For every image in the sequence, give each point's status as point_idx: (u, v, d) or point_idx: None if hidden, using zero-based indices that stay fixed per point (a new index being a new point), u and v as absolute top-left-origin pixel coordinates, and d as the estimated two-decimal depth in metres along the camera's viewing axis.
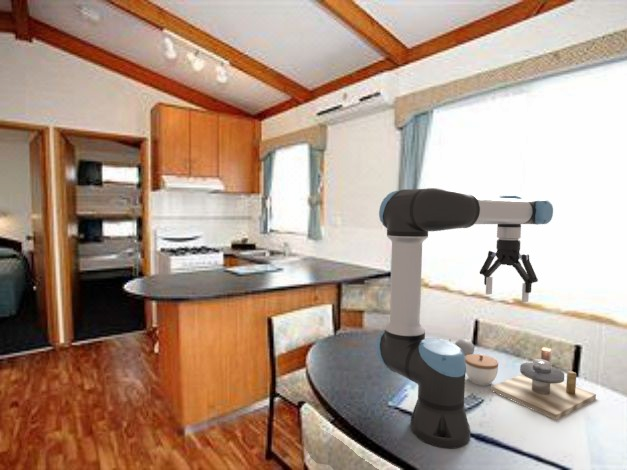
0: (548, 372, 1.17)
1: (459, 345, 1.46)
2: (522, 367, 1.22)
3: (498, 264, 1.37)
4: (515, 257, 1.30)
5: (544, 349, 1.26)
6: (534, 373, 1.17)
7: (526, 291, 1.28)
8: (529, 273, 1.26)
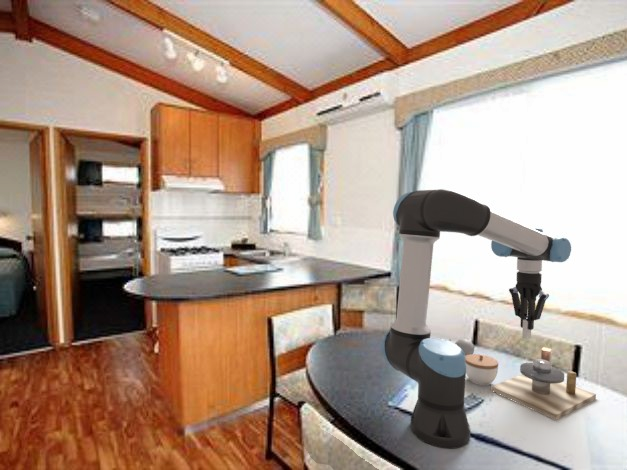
0: (548, 372, 1.17)
1: (459, 345, 1.46)
2: (522, 367, 1.22)
3: (525, 299, 1.32)
4: (535, 291, 1.28)
5: (544, 349, 1.26)
6: (534, 373, 1.17)
7: (528, 328, 1.31)
8: (537, 312, 1.28)
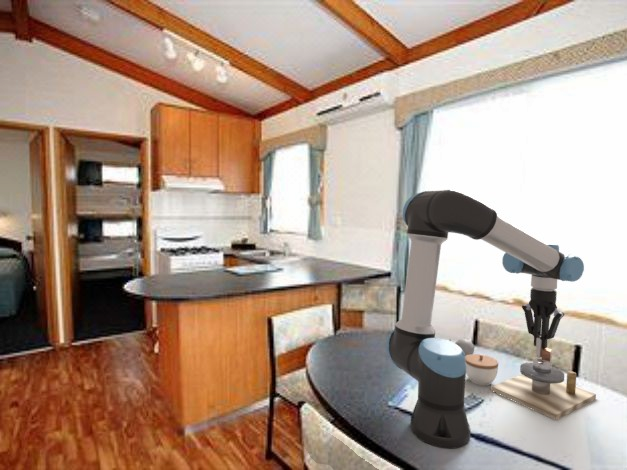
0: (548, 372, 1.17)
1: (459, 345, 1.46)
2: (522, 367, 1.22)
3: (539, 317, 1.28)
4: (550, 309, 1.24)
5: (545, 349, 1.26)
6: (534, 373, 1.17)
7: (542, 347, 1.27)
8: (551, 330, 1.24)
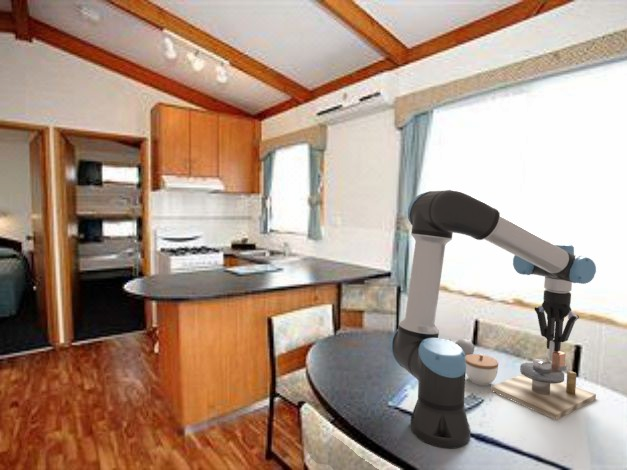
0: (545, 372, 1.17)
1: (459, 345, 1.46)
2: (523, 365, 1.23)
3: (552, 319, 1.24)
4: (564, 312, 1.20)
5: (556, 352, 1.24)
6: (529, 371, 1.19)
7: (555, 349, 1.24)
8: (565, 333, 1.21)
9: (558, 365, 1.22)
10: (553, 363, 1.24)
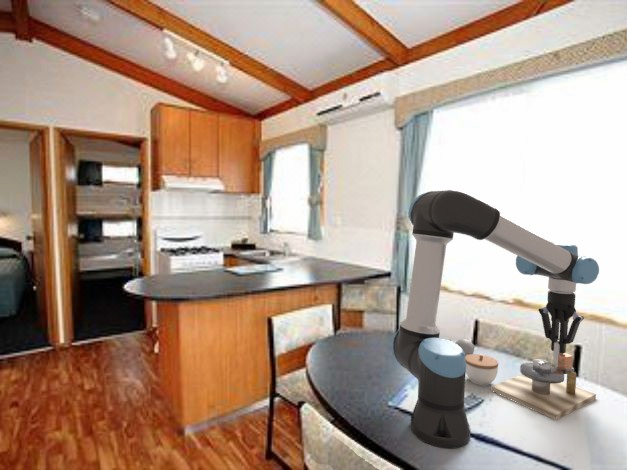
0: (543, 372, 1.17)
1: (459, 345, 1.46)
2: (524, 364, 1.24)
3: (556, 320, 1.23)
4: (569, 313, 1.19)
5: (562, 354, 1.22)
6: (527, 369, 1.20)
7: (560, 351, 1.22)
8: (570, 335, 1.19)
9: (563, 367, 1.20)
10: (559, 365, 1.22)
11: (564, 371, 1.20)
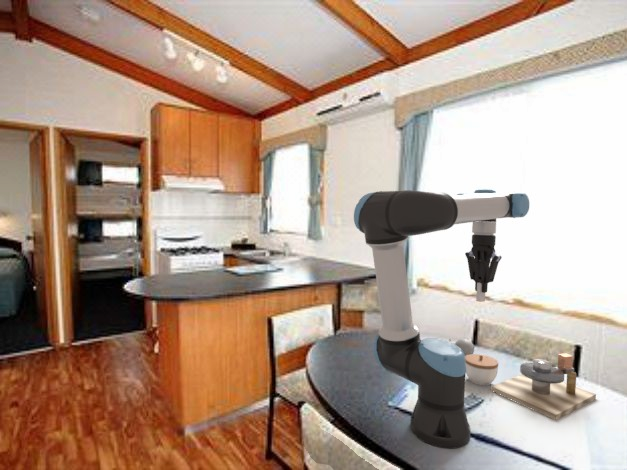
0: (543, 372, 1.17)
1: (459, 345, 1.46)
2: (524, 364, 1.24)
3: (479, 262, 1.31)
4: (488, 253, 1.28)
5: (563, 354, 1.22)
6: (526, 369, 1.20)
7: (482, 291, 1.30)
8: (489, 273, 1.27)
9: (563, 367, 1.20)
10: (559, 365, 1.22)
11: (564, 371, 1.20)
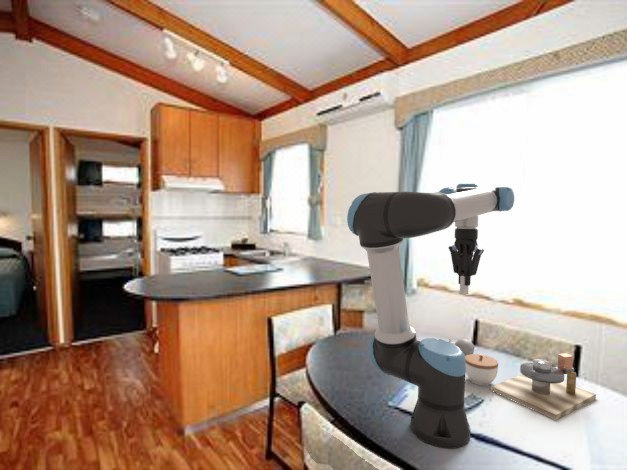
0: (543, 372, 1.17)
1: (459, 345, 1.46)
2: (524, 364, 1.24)
3: (462, 255, 1.33)
4: (471, 246, 1.29)
5: (563, 354, 1.22)
6: (526, 369, 1.20)
7: (465, 284, 1.32)
8: (472, 267, 1.29)
9: (563, 367, 1.20)
10: (559, 365, 1.22)
11: (564, 371, 1.20)
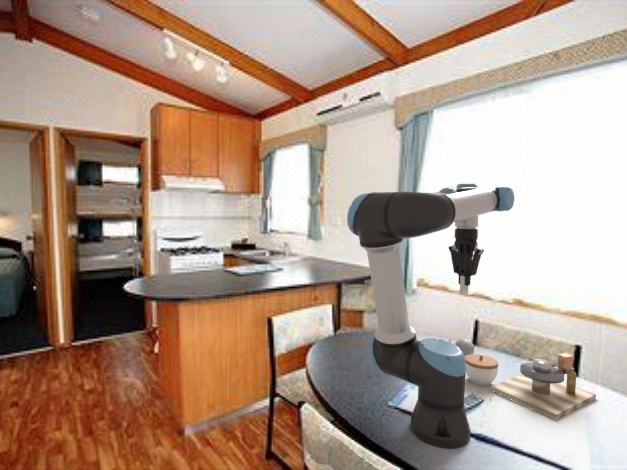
0: (543, 372, 1.17)
1: (459, 345, 1.46)
2: (524, 364, 1.24)
3: (462, 255, 1.33)
4: (471, 246, 1.29)
5: (563, 354, 1.22)
6: (526, 369, 1.20)
7: (465, 284, 1.32)
8: (472, 267, 1.29)
9: (563, 367, 1.20)
10: (559, 365, 1.22)
11: (564, 371, 1.20)
